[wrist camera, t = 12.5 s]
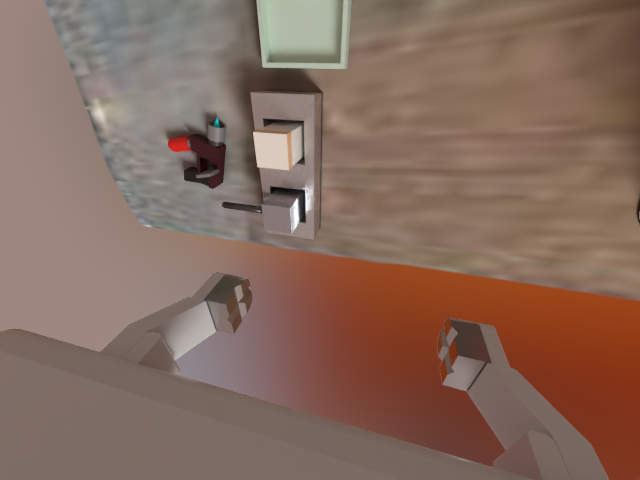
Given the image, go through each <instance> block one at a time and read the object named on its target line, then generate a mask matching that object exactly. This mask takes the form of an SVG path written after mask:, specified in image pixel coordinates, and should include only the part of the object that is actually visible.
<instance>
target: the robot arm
mask: <svg viewBox="0 0 640 480" xmlns="http://www.w3.org/2000/svg"><path fill="white" fill-rule="evenodd" d="M639 218H640V213H639ZM249 287H250V281H249V279H246V278H242V277H237V276H233V275H229V274H223V273H219V272H216V273H214V274H213V275H212V276H211V277H210V278H209V279H208V280H207V281H206V282H205V284H204V285H203V286H202V287H201V288H200V289H199V290H198V291H197V292H196V294H195V295H194V296H193V297H192V298H191V297H188V298H186V299H183V300H181V301H179V302H177V303H175V304H173V305H171V306H169V307H166V308H164V309H162V310H160V311H157V312H155V313H153V314H151V315H149V316H147V317H144V318H143V319H140V320H138V321H136V322H134V323H132V324H129V325H128V326H127V327H126V328H125V329H124V330H123V331H122V332H121V333H120V334H119V335H118V336H117V337H116V338H115V339H114V340H112V342H111V343H109V344H108V345H107V346H106V347H105V348H104V349H103V350H102V351H101V352H97V351H94V350H90V349H87V348H83V347H80V346H76V345H73V344H70V343H66V342H63V341H59V340H56V339H53V338H49V337H46V336H42V335H39V334H36V333H32V332H29V331H26V330H22V329H10V330H5V331H2V332H0V480H609V478H608V476H607V474H606V473H605V471H604V469H603V467H602V465H601V463H600V461H599V459H598V457H597V455H596V453H595V451H594V449H593V447H592V445H591V444H590V443H589V442H588V441H587V440H586V439H585V438H584V437H583V436H582V435H581V434H580V433H579V432H578V431H577V430H576V429H575V428H574V427H573V426H572V425H571V424H570V423H569V422H568V421H567V420H566V419H565V418H564V417H563V416H562V415H561V414H560V413H559V412H558V411H557V410H556V409H555V408H554V407H553V406H552V405H551V404H550V403H549V402H548V401H547V400H546V399H545V398H544V397H543V396H542V395H541V394H540V393H538V391H537V390H536V389H534V387H532V386H531V384H530V383H529V382H527V381H526V380H525V379H524V378H523V377H522V376H521V375H520V374H519V373H518V372H517V371H516V370H515V369H512V368H510V366H509V364H508V361H507V358H506V356H505V353H504V351H503V348H502V345H501V343H500V340H499V338H498V335H497V332H496V330H495V328H494V327H493V326H491V325H486V324H480V323H475V322H470V321H465V320H459V319H454V318H447V319H446V320H445V322H444V328H445V329H444V330H442V331H440V334H439V336H438V342H437V352H438V357H439V358H440V359H441V360H442V363H441V365H440V373H441V380H442V384H443V385H445V386H449V387H453V388H457V389H460V390H464V391H468V392H467V393H468V395H469V396H470V398H471V399H472V401H473V402H474V404H475V405H476V407H477V408H478V410H479V411H480V412H481V414H482V415H483V417H484V418H485V420H486V421H487V423H488V424H489V426H490V427H491V429H492V430H493V432H494V433H495V435H496V436H497V438H498V439H499V441H500V442H501V444H502V445H503V447H504V448H505V450H506V451H505V452H504V453H503V454H502V455H501V456H500V457H499V458H497V459H496V460H495V461H494V462H493V466H494V467H490V466H487V465H483V464H480V463H476V462H473V461H470V460H466V459H463V458H459V457H456V456H452V455H449V454H446V453H442V452H438V451H435V450H432V449H429V448H425V447H422V446H418V445H415V444H411V443H408V442H405V441H401V440H397V439H394V438H391V437H388V436H384V435H381V434H377V433H374V432H370V431H367V430H363V429H360V428H357V427H353V426H350V425H347V424H343V423H340V422H336V421H333V420H329V419H326V418H322V417H319V416H316V415H312V414H309V413H305V412H302V411H299V410H295V409H292V408H289V407H285V406H282V405H278V404H275V403H271V402H268V401H264V400H261V399H258V398H254V397H251V396H247V395H244V394H241V393H237V392H234V391H230V390H227V389H224V388H220V387H217V386H213V385H210V384H206V383H203V382H199V381H196V380H193V379H189V378H186V377H182V376H179V375H178V374H179V373H180V369H179V367H178V365H177V363H176V362H175V360H176V359H177V358H179V357H180V356H182V355H183V354H185V353H186V352H187V351H189V350H190V349H192V348H193V347H194V346H196V345H197V344H199V343H200V342H202V341H203V340H204V339H206V338H207V337H209V336H210V335H212V334H213V333H214V332H216V330H218V331H224V332H228V333H232V334H234V333H235V332H236V330H237V328H238V327H239V325H240V324H241V322H242V318H241V316H243V315H245V314H246V313H248V311H249V309H250V307H251V304H252V292H251V291H250V290H249V289H248V288H249Z"/></svg>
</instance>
